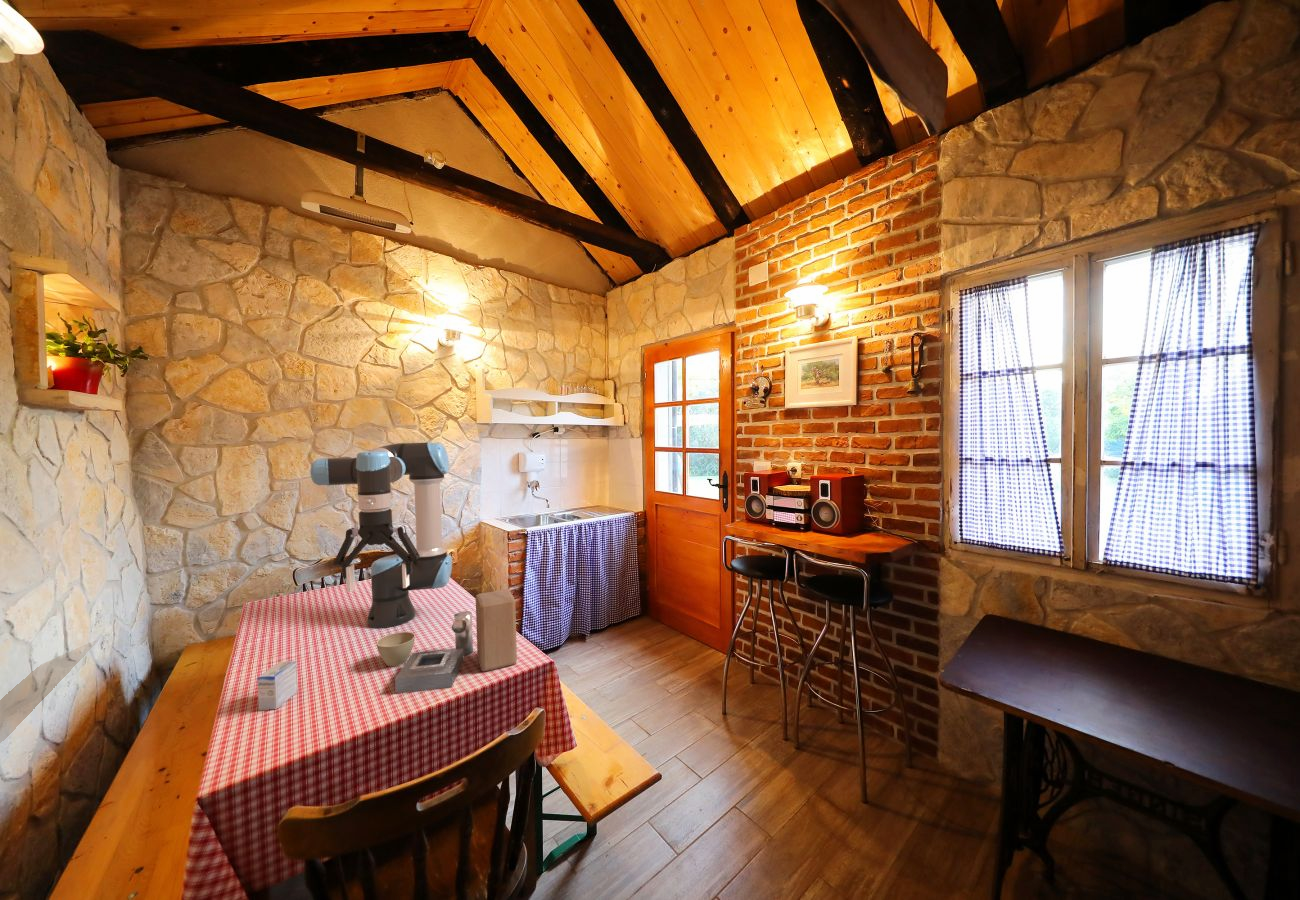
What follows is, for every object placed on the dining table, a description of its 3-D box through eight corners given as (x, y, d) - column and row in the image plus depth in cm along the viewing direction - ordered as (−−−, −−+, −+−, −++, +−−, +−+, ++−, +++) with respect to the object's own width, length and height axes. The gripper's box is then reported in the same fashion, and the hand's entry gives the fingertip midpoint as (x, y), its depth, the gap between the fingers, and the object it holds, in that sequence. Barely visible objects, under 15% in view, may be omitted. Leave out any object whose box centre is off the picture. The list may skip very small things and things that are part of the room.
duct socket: (413, 666, 135) (412, 650, 134) (463, 661, 137) (462, 645, 137) (395, 693, 121) (394, 675, 121) (451, 687, 123) (451, 669, 123)
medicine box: (280, 692, 122) (279, 661, 122) (298, 691, 122) (297, 660, 122) (258, 711, 114) (256, 677, 114) (277, 710, 115) (275, 676, 114)
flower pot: (399, 672, 132) (398, 648, 131) (369, 669, 134) (368, 645, 133) (423, 655, 141) (422, 632, 141) (395, 652, 143) (394, 630, 143)
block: (481, 673, 130) (479, 604, 129) (477, 658, 139) (474, 593, 138) (517, 664, 135) (515, 597, 134) (511, 650, 144) (509, 587, 143)
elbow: (457, 649, 145) (456, 610, 144) (474, 647, 146) (473, 609, 145) (451, 662, 137) (449, 621, 136) (469, 660, 138) (467, 619, 137)
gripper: (315, 514, 116) (319, 596, 117) (420, 509, 120) (424, 589, 121) (331, 509, 123) (334, 586, 124) (429, 505, 128) (432, 580, 129)
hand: (378, 588), depth 123 cm, fingers open, 13 cm apart
